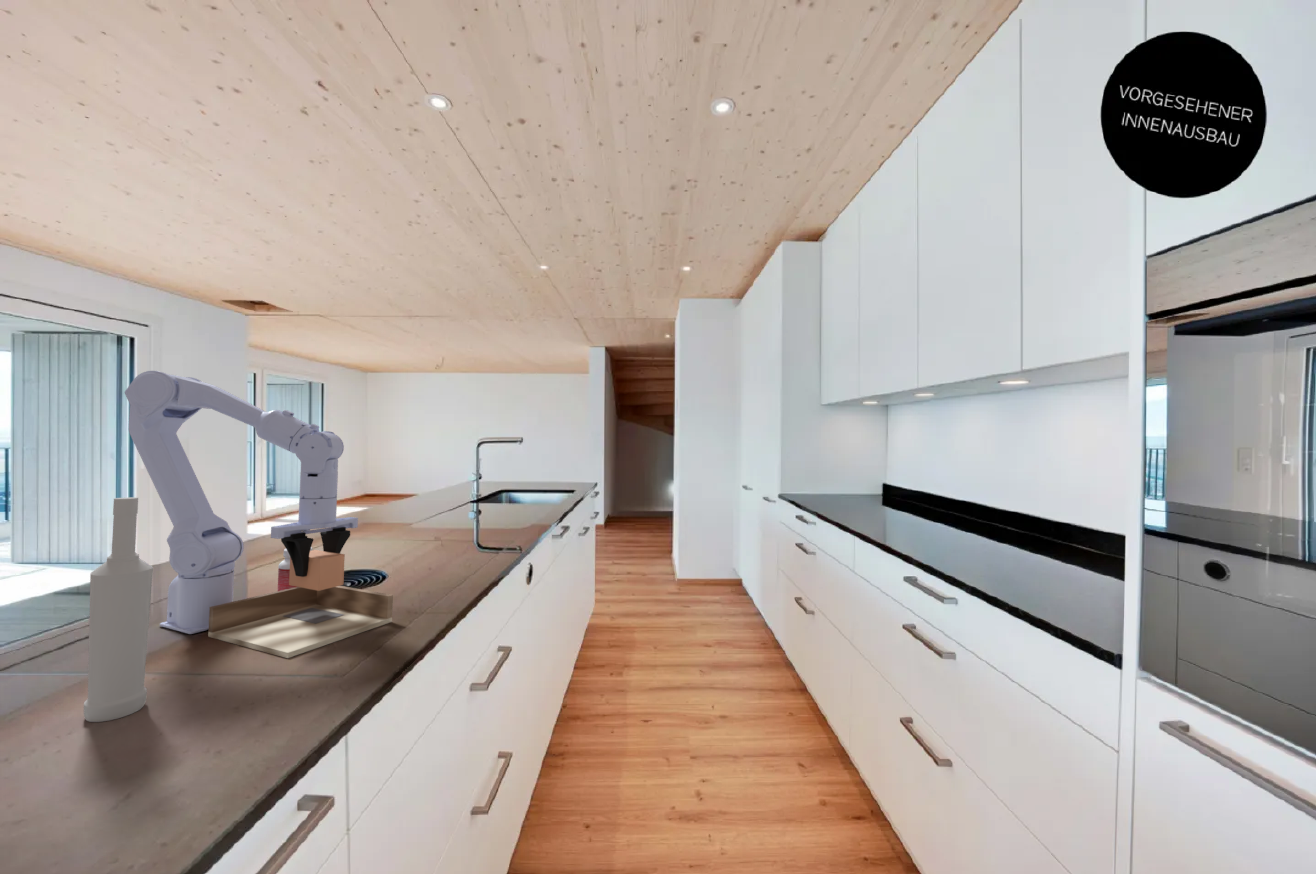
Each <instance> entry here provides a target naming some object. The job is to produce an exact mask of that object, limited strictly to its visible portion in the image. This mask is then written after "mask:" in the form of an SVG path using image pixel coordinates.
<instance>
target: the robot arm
mask: <svg viewBox="0 0 1316 874" xmlns="http://www.w3.org/2000/svg"><path fill="white" fill-rule="evenodd" d="M124 395H125V397H126V399H127V401H128V403H129V417H128V432H129V435H130V437H131V440H132V442H133V444H134V446H135V449H136V450H137V452H138V455H139V456H140V458H141V461H142V463H143V465H144V467H145V469H146V471H147V473H148V475H149V478H150V479H151V482H152V484H153V486H154V488H155V490H156V492H157V494H158V496H159V498H160V500H161V503H162V504H163V507H164V509H165V510H166V514H167V515H168V517H169V519H170V522H171V523H172V526H173V528H172V529H171V532H170V533H169V535H168V537H167V539H166V542H167V544H168V547H169V565H170V566H171V568H172V569H173V570H174V572H175V573H177V576H175V577H174V579H172V581H171V582H170V584H169V585H168V590H167V608H166V609H167V610H166V621H162V622H159V627H163V628H166V629H170V630H173V631H177V632H181V633H184V634H188V635H192V634H197V633H201V632H204V631H207V630H208V631H209V610H210V607H212V606H216V605H221V604H225V603H229V602H234V584H235V567H236V565H235V563H236V561H238V559H240V557H241V556H242V555H243V552H244V548H245V547H244V546H245V545H244V544H245V543H244V542H243V540H242V539H243V538H242V537H241V536H240V535H239V534H238V533H236V532H235V531H233V530H232V529H231V527H230V525H229V523H228V522H227V521H226V520H224V519H223V518H222V517H219V516H218V515H217V514H215V513H214V511H213V509H212V507H211V505H210V503H209V500H208V498H207V496H206V494H205V492H204V489H203V488H202V486H201V483H200V481H199V479H198V477H197V475H196V472H195V471H194V469H193V466H192V464H191V462H190V459H189V457H188V456H187V454H186V451H185V449H184V447H183V446H182V442H181V441H180V439H179V437H178V434H177V433H178V431H179V429H181V427H182V425H183V424H184V423H185V422H187V421H188V420H189V419H190V418H192V417H193V416H194V415H196V414H197V413H198V412H200V411H201V410H203V409H208V410H213V411H216V412H217V413H220V414H223V415H225V416H227V417H230V418H232V419H235V420H236V421H239V422H242V423H244V424H246V425H249V426H251V427H253V428H254V430H255V431H256V435H257V436H258V438H260V439H263V440H264V441H267V442H268V443H271V444H273V445H275V446H277V447H280V448H281V449H284V450H285V451H287V452H290V453H292V454H295V456H296V457H297V458H298V460H299V461H300V472H299V474H300V475H299V497H298V499H299V501H298V521H296V522H291V523H286V524H280V525H274V526H270V527H271V528H270V538H271V539H277V540H279V539H280V541H281V543H282V544H283V546H284V548H285V549H287V551H288V553H289V555H290V557H291V560H292V563H293V566H294V570H295V575H296V576H300V577H305V576H307V573H308V562H309V553H310V549H311V547H312V545H313V543H314V538H312V537H308V536H307V535H310V534H317V533H319V534H320V537H321V542H322V549H323V550H322V551H326V552H332V553H339V554H341V552H342V550H343V548H344V546H345V544H346V542H347V541H348V540H349V539H350V537H351V530H348V529H358V527H359V526H358V525H359V524H358V523H359V517H353V516H348V517H338V518H337V507H338V506H337V504H338V503H337V502H338V482H339V481H338V479H339V471H338V470H339V459H340V457H342V455H343V452H344V449H345V448H344V447H345V445H344V442H343V440H342V439H341V437H340V436H338V435H337V434H336V433H334V432H333V431H327V430H325V431H324V430H323V431H320V426H319V425H318V424H315V423H311V424H310V423H308V422H305V421H303V420H301V419H299V418H297V417H295V416H294V415H295V412H292V411H290V410H288V409H287V410H286V409H283V411H282V410H280V409H275V410H270V411H265V410H263V409H261V408H260V407H257V406H256V405H253V404H252V403H250V402H248V401H246V400H244V399H243V398H240V397H239V396H236V395H234V394H233V393H231V392H229V391H227V390H225V389H223V388H221V387H219V386H217V385H214V384H211V383H208V382H204V381H202V380H200V379H198V378H196V377H190V376H182V375H177V374H175V375H174V374H169V373H166V372H163V371H159V370H146V371H144V372H141V373H139V374H137V376H135V378H133V380H132V381H131V382H130V384H129V385H128V387H127V388H126V389H125V391H124Z"/></svg>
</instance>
